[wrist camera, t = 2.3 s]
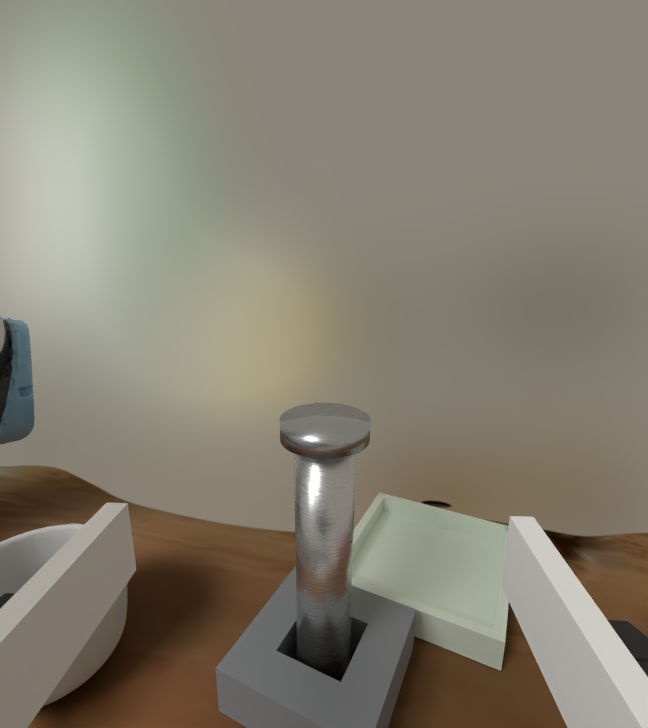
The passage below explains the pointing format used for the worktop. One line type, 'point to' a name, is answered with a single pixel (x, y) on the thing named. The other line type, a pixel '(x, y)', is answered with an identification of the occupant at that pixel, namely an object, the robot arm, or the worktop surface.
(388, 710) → the socket block
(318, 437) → the pin
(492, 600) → the tray
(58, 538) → the teacup
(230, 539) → the worktop surface
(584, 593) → the robot arm
